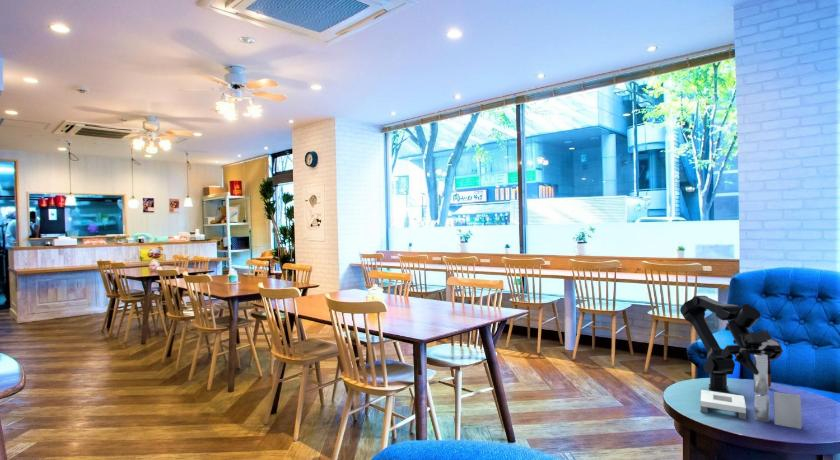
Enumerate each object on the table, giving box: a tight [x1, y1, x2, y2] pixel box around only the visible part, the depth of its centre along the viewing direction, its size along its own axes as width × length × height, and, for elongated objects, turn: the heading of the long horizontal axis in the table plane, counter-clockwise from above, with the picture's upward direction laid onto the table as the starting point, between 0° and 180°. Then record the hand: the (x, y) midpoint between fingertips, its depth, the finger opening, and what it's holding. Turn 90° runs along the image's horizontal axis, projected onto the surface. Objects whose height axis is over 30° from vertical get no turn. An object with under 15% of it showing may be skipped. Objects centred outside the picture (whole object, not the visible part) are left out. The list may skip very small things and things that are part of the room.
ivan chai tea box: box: [773, 391, 803, 430], centre depth 153 cm, size 4×7×10 cm, turn 57°
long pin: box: [753, 353, 769, 395], centre depth 164 cm, size 4×4×13 cm
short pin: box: [753, 392, 770, 423], centre depth 157 cm, size 4×4×8 cm
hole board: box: [700, 389, 747, 420], centre depth 167 cm, size 13×13×4 cm
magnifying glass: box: [759, 338, 783, 390], centre depth 187 cm, size 9×2×20 cm, turn 64°
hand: (763, 374), depth 162 cm, fingers closed on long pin, 4 cm apart
